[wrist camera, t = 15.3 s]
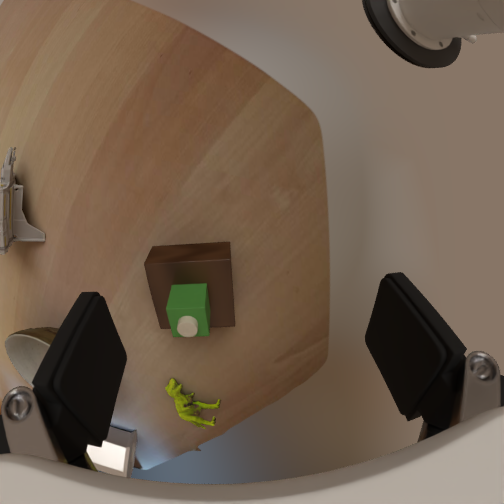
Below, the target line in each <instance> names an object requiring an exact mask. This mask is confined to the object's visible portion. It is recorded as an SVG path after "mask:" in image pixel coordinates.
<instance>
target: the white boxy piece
mask: <svg viewBox="0 0 504 504" xmlns="http://www.w3.org/2000/svg"><path fill="white" fill-rule="evenodd" d="M136 445H137V433H136V430H135V431H133V432H132V433H130V432H127V431H123V430H120V429H117V428H114V427H111V426H110V428H109V432H108V437H107V439H106V440H103V443H102V448H101V447H96V446H91V445H88V446H87V453H88V455H89V457H90V458H91V460H92V462H93V464H94V466H95V467H96V469H97V470H100V471H103V472H106V473H109V474H112V475H117V476H122V477H128V478H131V474H132V470H133V467H134V460H135V452H136Z"/></svg>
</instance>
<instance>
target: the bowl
mask: <svg viewBox="0 0 504 504" xmlns="http://www.w3.org/2000/svg"><path fill="white" fill-rule="evenodd" d="M58 330H59V329H58V328H51V327H45V328H35V329H32V328H30V329H25V330H21V331H18V332H15V333H13V334H11V335H10V336H8V338H7V339H6V341H5V347H6V351H7V354H8V356H9V358H10V360H11V362H12V364H13V365H14V367H15V368H16V370H17V371H18V372H19V374H20V375H21V376H22V377H23V378H24V379H25V380H26V381H27V382H28V383H29V384H30V385H31V386H32V387H33V388H34V385H33V384H32V381H33V378H34V376H35V374H36V372H37V370H38V368H39V366H40V364H41V362H42V360H43V358H44V356H45V354H46V352H47V350H48V349H49V347H50V345H51V343H52V341H53V339H54V337H55V336H56V334H57V332H58Z"/></svg>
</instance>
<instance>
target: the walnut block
mask: <svg viewBox="0 0 504 504" xmlns="http://www.w3.org/2000/svg"><path fill="white" fill-rule="evenodd" d="M144 266H145V270H146V275H147V279H148V283H149V287H150V291H151V295H152V299H153V303H154V306H155V310H156V314H157V317H158V321H159V324H160V328H161V329H171V327H170V323H169V319H168V315H167V311H166V307H167V303H168V299H169V295H170V291H171V287H172V285H182V284H202V283H207V289H208V297H209V304H210V328H211V327H230V326H235V313H234V298H233V283H232V268H231V252H230V242H217V243H201V244H184V245H169V246H153V247H152V249H151V251H150V253H149V255H148V257H147V259H146V261H145V263H144Z"/></svg>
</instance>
